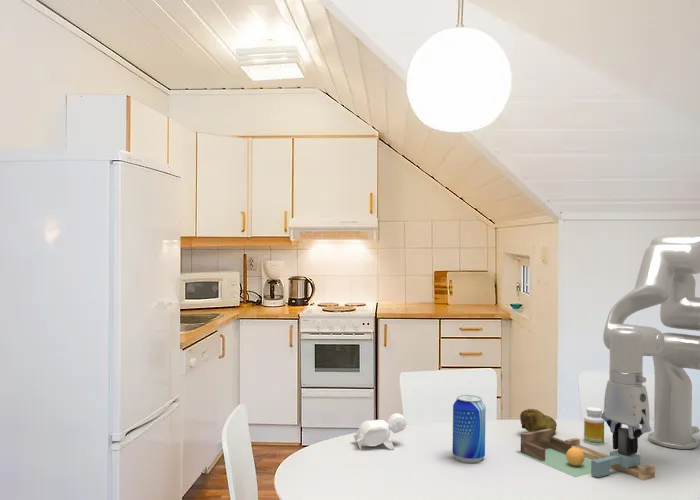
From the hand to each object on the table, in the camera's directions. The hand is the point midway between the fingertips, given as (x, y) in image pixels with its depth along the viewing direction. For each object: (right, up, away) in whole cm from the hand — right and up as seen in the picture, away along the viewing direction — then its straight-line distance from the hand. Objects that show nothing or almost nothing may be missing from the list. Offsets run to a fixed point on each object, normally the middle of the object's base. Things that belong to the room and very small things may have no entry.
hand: (624, 450), depth 146 cm
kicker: (-4, -5, -2) cm, 6 cm away
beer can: (-38, -5, +7) cm, 39 cm away
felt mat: (-14, -5, +6) cm, 16 cm away
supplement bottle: (+1, -5, +21) cm, 22 cm away
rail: (-2, -5, +5) cm, 7 cm away
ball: (-12, -5, +2) cm, 13 cm away
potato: (-12, -5, +28) cm, 31 cm away
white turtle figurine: (-61, -5, +17) cm, 63 cm away
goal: (-16, -5, +11) cm, 20 cm away
